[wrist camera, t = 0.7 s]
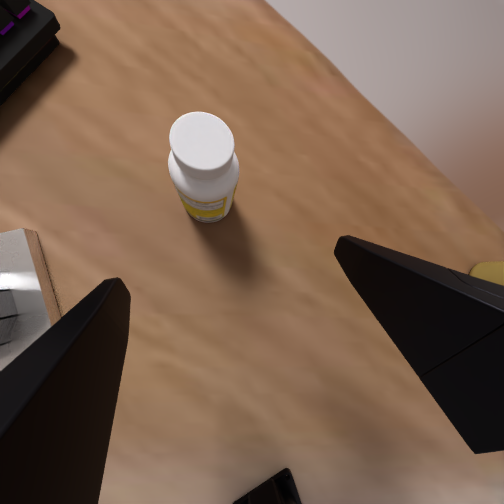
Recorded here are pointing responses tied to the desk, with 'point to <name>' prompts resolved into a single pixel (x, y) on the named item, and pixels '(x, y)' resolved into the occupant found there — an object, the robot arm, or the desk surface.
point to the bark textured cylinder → (489, 272)
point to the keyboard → (23, 41)
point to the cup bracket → (23, 294)
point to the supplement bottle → (203, 165)
